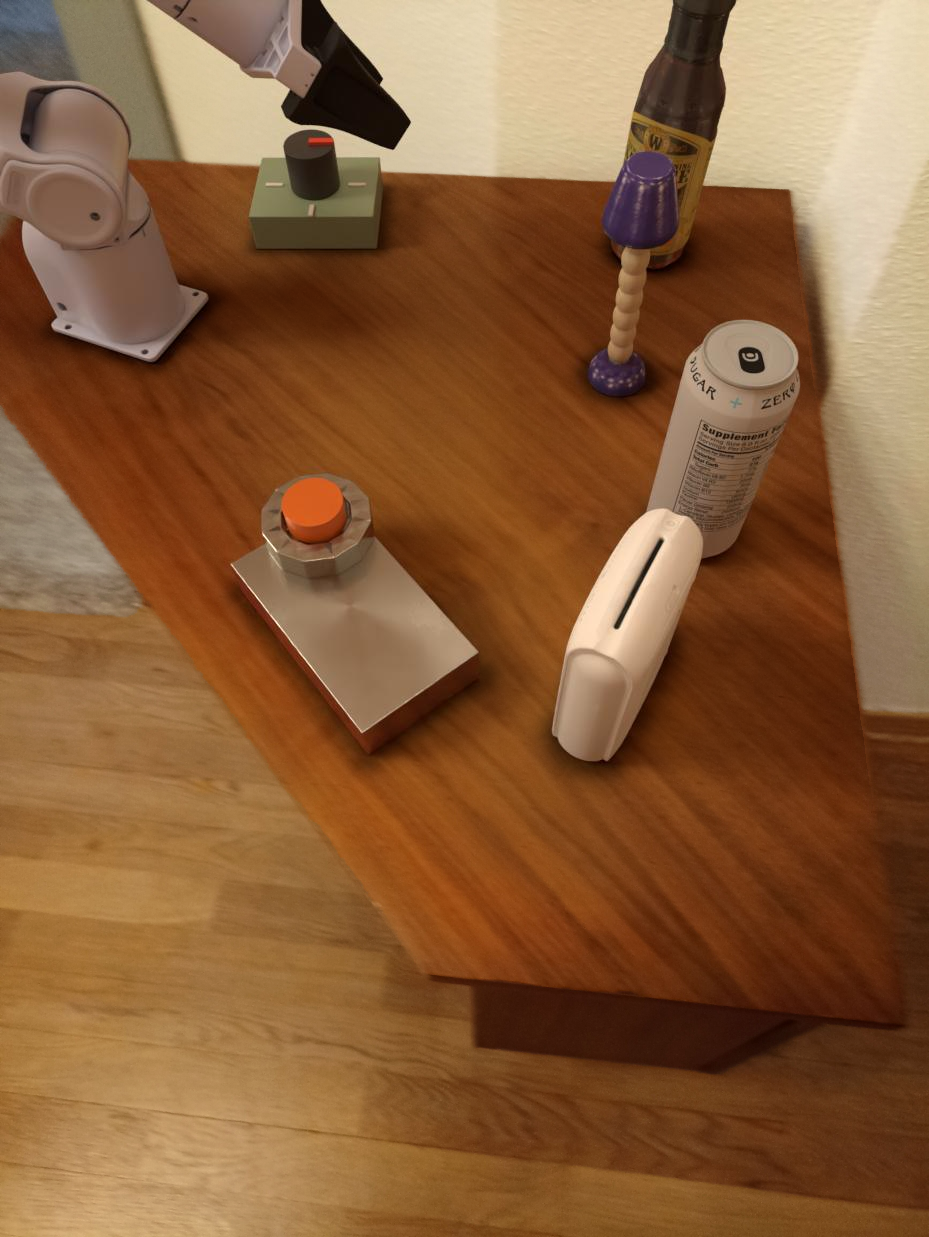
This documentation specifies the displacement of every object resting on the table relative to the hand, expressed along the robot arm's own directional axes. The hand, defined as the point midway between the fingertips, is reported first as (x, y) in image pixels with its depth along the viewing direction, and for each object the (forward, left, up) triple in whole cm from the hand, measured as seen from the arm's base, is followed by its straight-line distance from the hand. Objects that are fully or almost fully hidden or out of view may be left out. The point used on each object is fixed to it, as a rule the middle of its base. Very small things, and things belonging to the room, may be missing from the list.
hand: (387, 111), depth 58 cm
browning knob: (-10, +5, -11) cm, 16 cm away
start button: (+7, -26, -9) cm, 28 cm away
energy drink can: (+28, -14, -14) cm, 34 cm away
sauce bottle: (+17, +12, -14) cm, 25 cm away
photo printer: (+27, -27, -14) cm, 40 cm away
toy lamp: (+19, -3, -14) cm, 24 cm away
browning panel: (-10, +5, -14) cm, 18 cm away
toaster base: (+11, -30, -14) cm, 35 cm away
